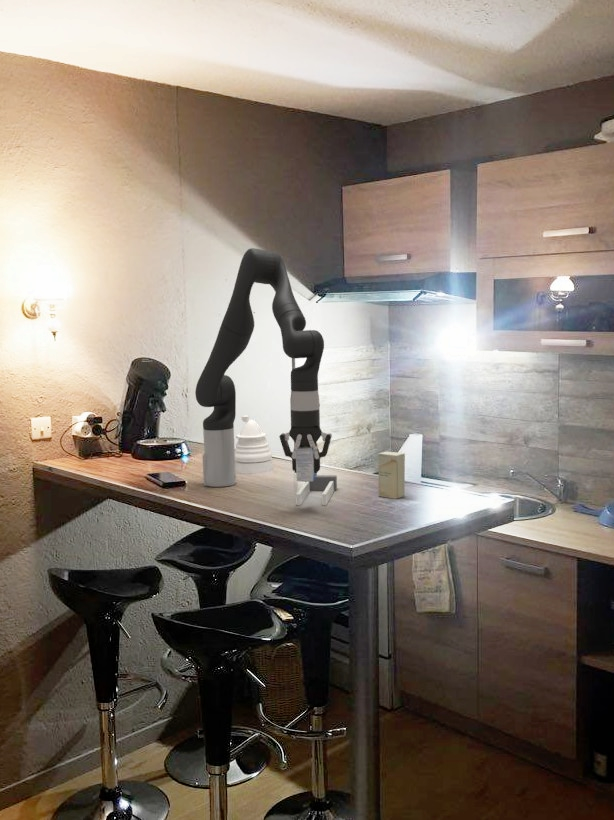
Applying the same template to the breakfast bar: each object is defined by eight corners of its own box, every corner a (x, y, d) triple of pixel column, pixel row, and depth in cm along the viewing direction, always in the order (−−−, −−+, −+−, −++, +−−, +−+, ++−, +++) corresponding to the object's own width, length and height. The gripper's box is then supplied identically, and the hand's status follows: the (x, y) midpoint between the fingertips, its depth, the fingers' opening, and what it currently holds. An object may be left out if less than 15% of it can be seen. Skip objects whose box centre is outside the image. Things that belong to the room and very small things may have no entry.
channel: (294, 505, 226) (294, 490, 226) (306, 488, 247) (306, 475, 246) (328, 505, 225) (327, 490, 225) (337, 488, 245) (336, 475, 245)
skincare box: (378, 496, 233) (377, 453, 232) (387, 493, 237) (386, 450, 235) (397, 499, 230) (396, 455, 228) (406, 496, 233) (405, 452, 232)
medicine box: (313, 482, 217) (312, 448, 216) (296, 481, 218) (295, 448, 217) (317, 475, 225) (316, 443, 224) (300, 475, 225) (299, 443, 224)
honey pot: (230, 473, 273) (227, 419, 271) (238, 466, 286) (235, 413, 284) (269, 473, 272) (267, 418, 270) (275, 466, 285) (273, 413, 282)
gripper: (275, 409, 215) (276, 475, 218) (330, 409, 213) (331, 475, 215) (280, 406, 223) (282, 469, 225) (334, 405, 221) (335, 469, 223)
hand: (306, 472), depth 220 cm, fingers closed on medicine box, 4 cm apart
